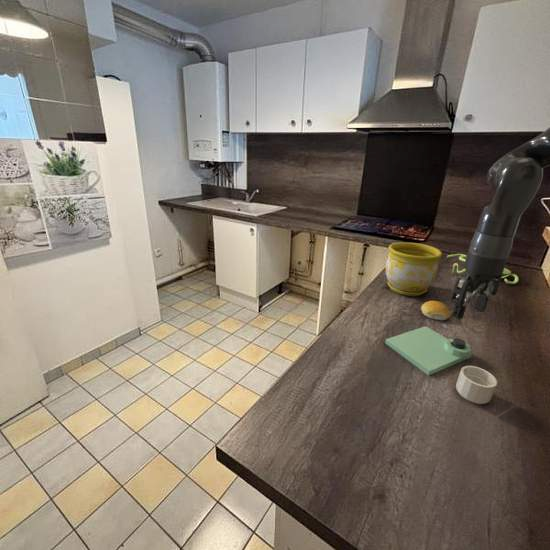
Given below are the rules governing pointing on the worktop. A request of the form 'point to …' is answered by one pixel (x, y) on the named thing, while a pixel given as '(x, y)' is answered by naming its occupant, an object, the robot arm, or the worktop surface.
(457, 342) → the power button
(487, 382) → the bowl
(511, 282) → the figurine
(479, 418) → the worktop surface
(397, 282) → the flowerpot
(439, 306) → the bread roll
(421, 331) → the scale
